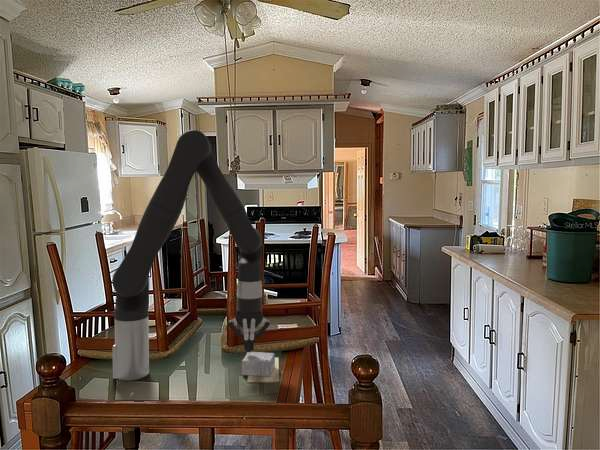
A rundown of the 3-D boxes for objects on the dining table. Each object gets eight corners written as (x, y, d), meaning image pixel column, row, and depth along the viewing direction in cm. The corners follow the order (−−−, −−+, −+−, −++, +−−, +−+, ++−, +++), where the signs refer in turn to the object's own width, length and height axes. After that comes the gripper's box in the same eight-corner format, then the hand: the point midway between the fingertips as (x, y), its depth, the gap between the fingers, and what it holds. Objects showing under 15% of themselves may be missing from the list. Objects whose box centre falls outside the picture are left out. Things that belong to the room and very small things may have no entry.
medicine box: (241, 375, 129) (270, 377, 128) (241, 360, 129) (270, 362, 128) (247, 365, 137) (275, 366, 136) (247, 351, 136) (275, 352, 135)
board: (247, 382, 125) (247, 381, 125) (250, 358, 143) (250, 357, 143) (279, 382, 126) (279, 380, 125) (278, 358, 143) (278, 357, 143)
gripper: (225, 297, 128) (225, 356, 129) (271, 297, 128) (271, 355, 130) (228, 292, 135) (228, 347, 136) (271, 292, 136) (271, 346, 137)
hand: (249, 351), depth 133 cm, fingers closed
